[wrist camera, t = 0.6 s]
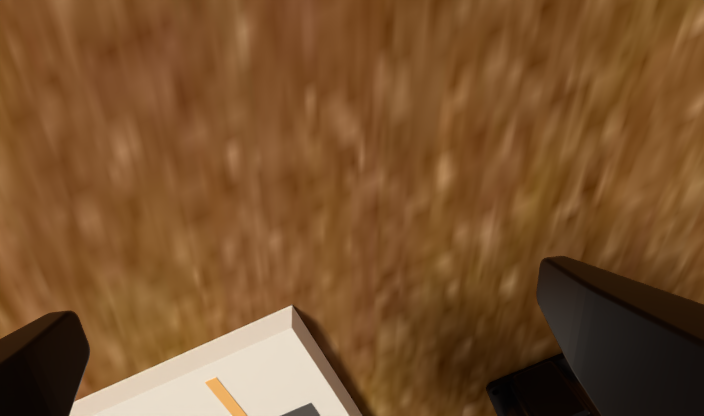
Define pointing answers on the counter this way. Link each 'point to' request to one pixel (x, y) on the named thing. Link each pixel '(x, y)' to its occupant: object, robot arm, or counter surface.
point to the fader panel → (234, 378)
